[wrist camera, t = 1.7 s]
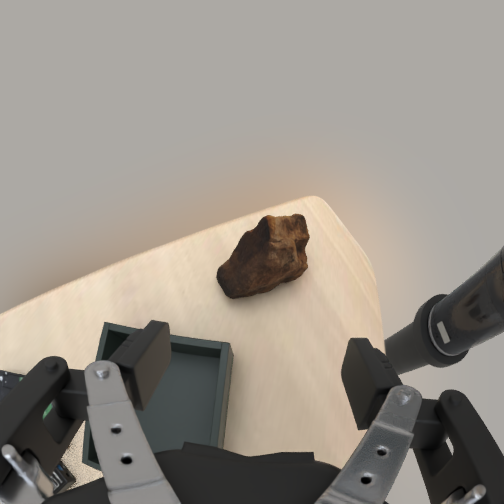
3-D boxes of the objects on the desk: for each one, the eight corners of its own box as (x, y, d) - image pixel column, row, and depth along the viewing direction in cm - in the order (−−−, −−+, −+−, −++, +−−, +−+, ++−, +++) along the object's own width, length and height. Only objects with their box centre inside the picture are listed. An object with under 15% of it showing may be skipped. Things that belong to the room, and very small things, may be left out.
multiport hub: (24, 493, 16) (16, 494, 14) (57, 456, 22) (48, 457, 20) (41, 514, 14) (33, 516, 12) (76, 480, 20) (68, 482, 18)
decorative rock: (292, 247, 40) (304, 197, 31) (310, 282, 37) (329, 237, 28) (214, 272, 38) (203, 225, 29) (227, 311, 35) (219, 273, 26)
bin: (233, 354, 32) (229, 342, 27) (218, 485, 23) (211, 502, 17) (126, 337, 33) (104, 321, 27) (108, 457, 24) (81, 462, 18)
